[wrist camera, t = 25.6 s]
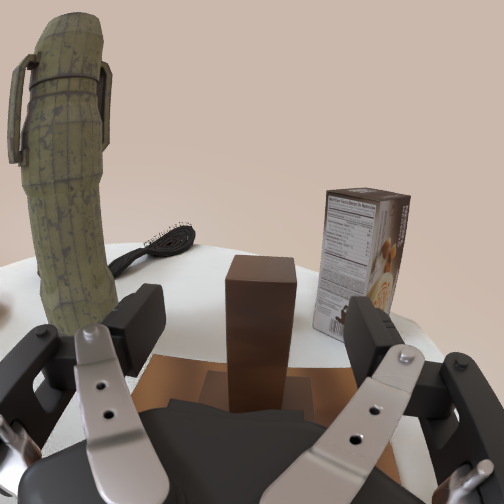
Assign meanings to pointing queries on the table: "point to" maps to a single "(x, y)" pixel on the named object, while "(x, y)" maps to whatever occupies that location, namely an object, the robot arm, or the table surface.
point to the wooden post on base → (259, 341)
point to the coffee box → (359, 253)
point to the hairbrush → (157, 248)
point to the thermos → (66, 167)
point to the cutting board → (194, 371)
